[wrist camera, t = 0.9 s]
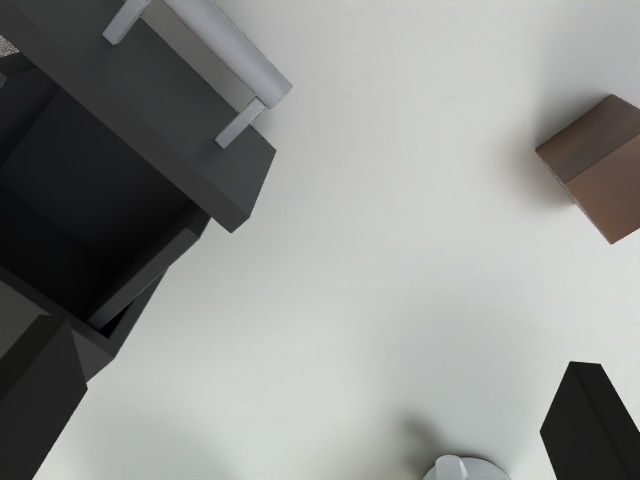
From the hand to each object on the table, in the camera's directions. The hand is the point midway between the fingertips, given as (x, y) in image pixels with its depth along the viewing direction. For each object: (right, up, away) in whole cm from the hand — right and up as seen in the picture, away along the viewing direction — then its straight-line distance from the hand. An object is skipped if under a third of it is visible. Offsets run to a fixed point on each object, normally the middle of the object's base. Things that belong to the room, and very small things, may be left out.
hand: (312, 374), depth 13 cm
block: (+15, +8, +13) cm, 22 cm away
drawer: (-9, +10, +14) cm, 19 cm away
